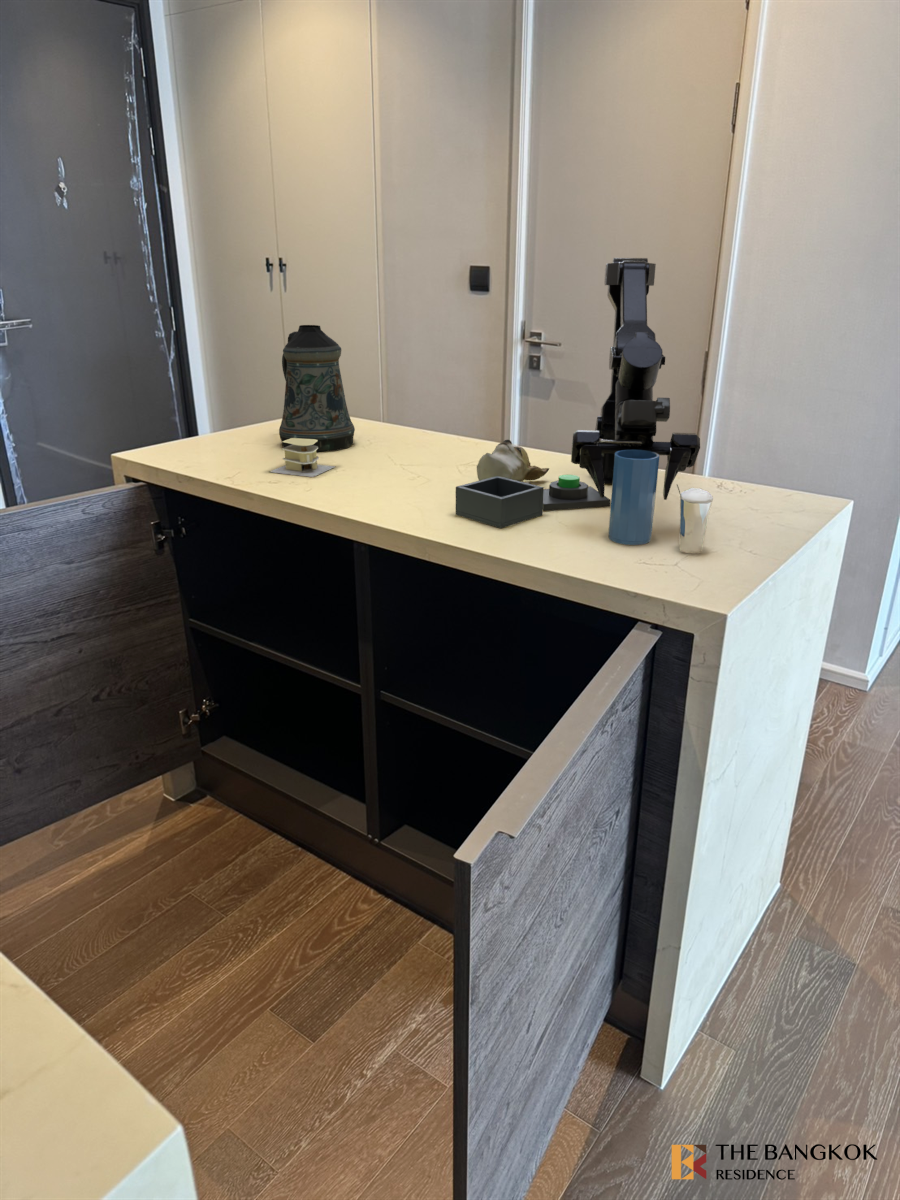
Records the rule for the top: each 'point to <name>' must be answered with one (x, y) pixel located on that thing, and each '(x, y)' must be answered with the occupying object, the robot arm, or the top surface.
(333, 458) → the top surface
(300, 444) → the stacked layers on plate
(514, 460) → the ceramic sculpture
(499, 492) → the open square box
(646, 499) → the cup
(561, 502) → the panel
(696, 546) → the milkshake
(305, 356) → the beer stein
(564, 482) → the button
